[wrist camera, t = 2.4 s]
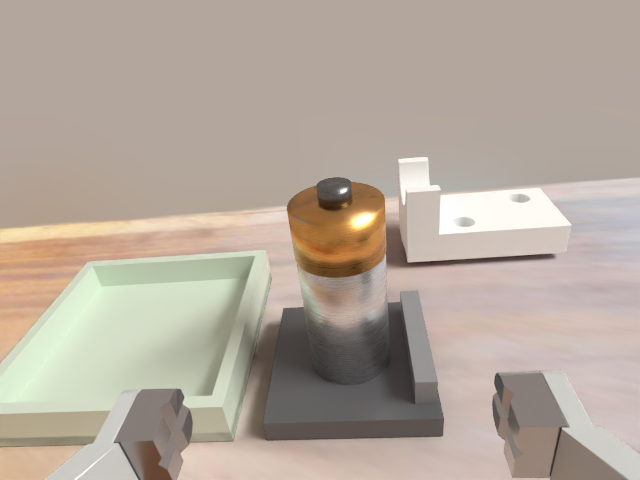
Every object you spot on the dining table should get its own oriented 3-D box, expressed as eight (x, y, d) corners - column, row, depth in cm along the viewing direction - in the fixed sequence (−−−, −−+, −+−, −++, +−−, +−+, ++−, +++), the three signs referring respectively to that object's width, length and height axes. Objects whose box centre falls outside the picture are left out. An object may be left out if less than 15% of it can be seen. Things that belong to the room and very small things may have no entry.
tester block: (267, 440, 26) (257, 402, 25) (286, 323, 35) (279, 289, 33) (442, 435, 25) (444, 396, 24) (418, 316, 34) (418, 281, 32)
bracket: (407, 271, 40) (406, 192, 36) (399, 230, 46) (397, 159, 42) (564, 261, 38) (581, 179, 34) (534, 221, 44) (545, 146, 40)
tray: (-19, 446, 28) (-45, 415, 27) (100, 288, 42) (88, 261, 40) (233, 441, 27) (222, 406, 25) (271, 278, 40) (266, 250, 39)
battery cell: (308, 387, 27) (278, 211, 21) (313, 329, 32) (289, 169, 26) (394, 384, 27) (388, 203, 21) (387, 325, 31) (380, 162, 25)
